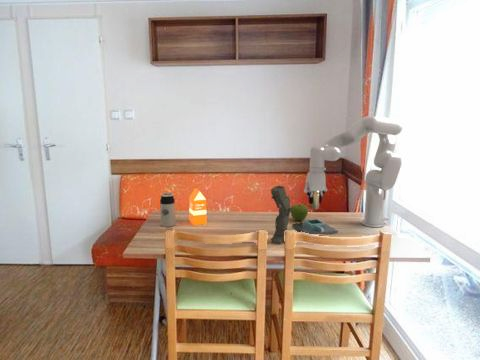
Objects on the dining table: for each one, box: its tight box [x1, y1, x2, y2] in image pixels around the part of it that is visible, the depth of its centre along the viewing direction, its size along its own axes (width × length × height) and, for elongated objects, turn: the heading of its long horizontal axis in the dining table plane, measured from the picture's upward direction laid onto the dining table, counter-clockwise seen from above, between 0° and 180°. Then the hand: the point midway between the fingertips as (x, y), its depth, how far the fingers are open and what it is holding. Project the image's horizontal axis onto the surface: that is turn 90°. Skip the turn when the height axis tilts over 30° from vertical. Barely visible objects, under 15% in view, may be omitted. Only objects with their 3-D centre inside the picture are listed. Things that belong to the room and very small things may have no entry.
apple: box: [290, 203, 309, 222], centre depth 214 cm, size 11×10×10 cm
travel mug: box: [159, 192, 176, 228], centre depth 204 cm, size 8×8×18 cm
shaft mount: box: [291, 218, 339, 235], centre depth 198 cm, size 18×18×4 cm
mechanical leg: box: [270, 185, 291, 245], centre depth 178 cm, size 14×7×30 cm, turn 141°
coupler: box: [310, 191, 320, 210], centre depth 195 cm, size 4×5×10 cm
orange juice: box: [188, 187, 208, 226], centre depth 208 cm, size 8×9×20 cm
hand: (314, 203), depth 195 cm, fingers closed on coupler, 4 cm apart
